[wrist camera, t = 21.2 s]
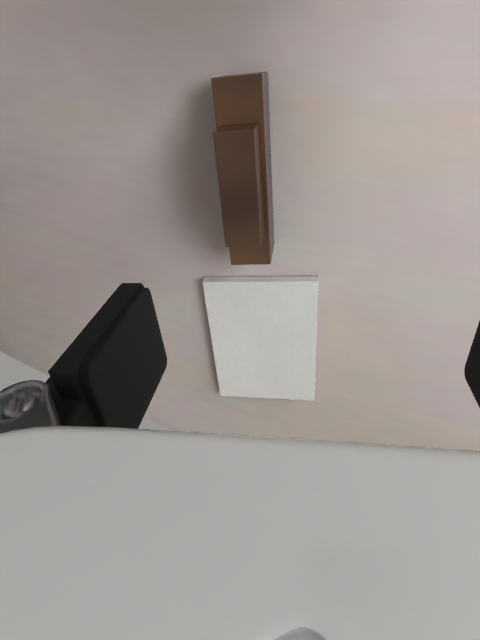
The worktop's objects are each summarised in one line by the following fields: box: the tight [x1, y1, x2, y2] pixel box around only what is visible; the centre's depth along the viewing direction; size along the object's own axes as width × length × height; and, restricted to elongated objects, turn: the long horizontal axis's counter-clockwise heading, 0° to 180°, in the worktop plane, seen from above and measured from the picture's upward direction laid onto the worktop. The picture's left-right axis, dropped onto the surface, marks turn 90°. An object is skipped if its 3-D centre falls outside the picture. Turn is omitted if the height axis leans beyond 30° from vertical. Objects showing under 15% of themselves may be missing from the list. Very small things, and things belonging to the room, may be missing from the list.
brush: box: [211, 72, 274, 265], centre depth 26 cm, size 12×3×6 cm, turn 5°
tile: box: [202, 276, 318, 400], centre depth 37 cm, size 14×10×1 cm
